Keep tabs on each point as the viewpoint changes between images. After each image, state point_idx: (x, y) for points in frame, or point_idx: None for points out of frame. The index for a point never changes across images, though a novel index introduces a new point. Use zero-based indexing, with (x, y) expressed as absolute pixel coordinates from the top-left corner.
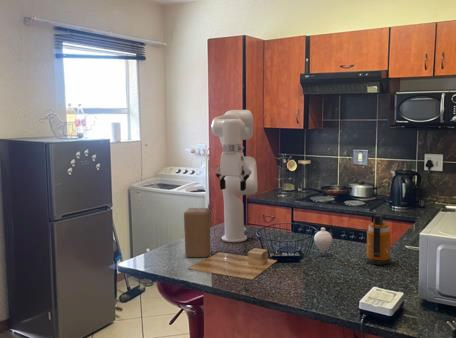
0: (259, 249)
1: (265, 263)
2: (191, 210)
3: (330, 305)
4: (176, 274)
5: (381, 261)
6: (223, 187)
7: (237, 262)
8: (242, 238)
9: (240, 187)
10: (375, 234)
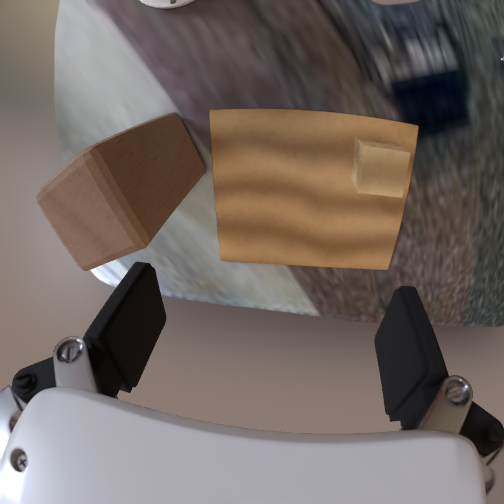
0: (385, 156)
1: None
2: (76, 240)
3: (492, 307)
4: (218, 290)
5: None
6: (155, 309)
7: (316, 178)
8: None
9: (379, 363)
10: None
